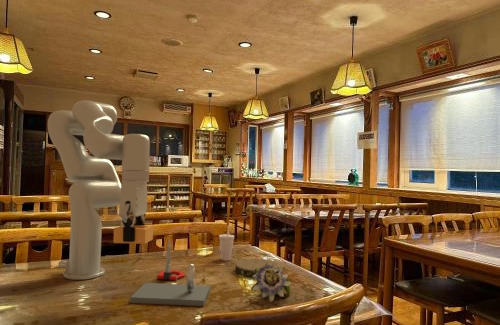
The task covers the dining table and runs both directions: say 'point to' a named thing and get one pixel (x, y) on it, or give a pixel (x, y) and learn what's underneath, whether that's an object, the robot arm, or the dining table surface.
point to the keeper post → (190, 277)
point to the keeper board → (171, 294)
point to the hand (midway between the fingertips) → (133, 238)
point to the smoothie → (226, 245)
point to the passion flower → (270, 281)
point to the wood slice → (252, 266)
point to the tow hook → (167, 273)
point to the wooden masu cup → (141, 234)
